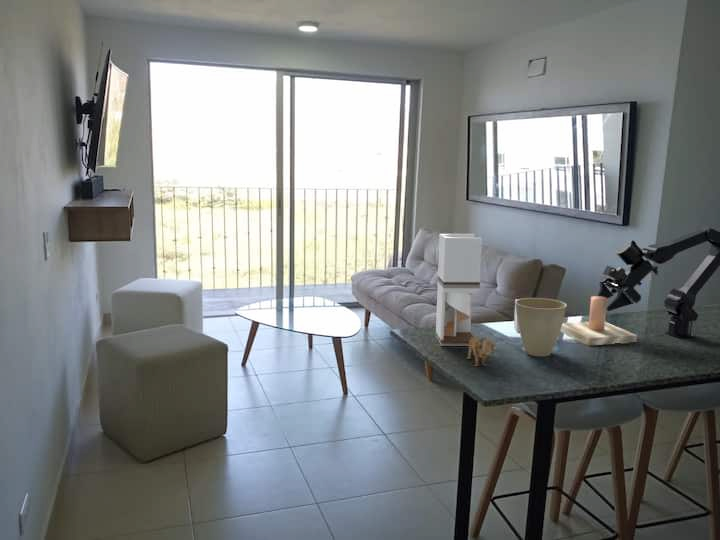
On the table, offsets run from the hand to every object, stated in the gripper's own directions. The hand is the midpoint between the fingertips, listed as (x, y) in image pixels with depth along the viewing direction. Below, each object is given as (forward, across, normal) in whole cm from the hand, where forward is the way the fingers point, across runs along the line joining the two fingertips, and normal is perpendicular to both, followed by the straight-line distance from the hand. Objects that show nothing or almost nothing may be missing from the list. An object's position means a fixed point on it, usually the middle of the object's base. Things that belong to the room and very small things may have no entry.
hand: (600, 306), depth 197 cm
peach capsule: (+6, 0, +5) cm, 8 cm away
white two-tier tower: (+43, +5, -29) cm, 52 cm away
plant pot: (+27, +17, -12) cm, 34 cm away
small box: (+23, -8, -8) cm, 26 cm away
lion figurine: (+42, +25, -27) cm, 55 cm away
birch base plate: (+8, 0, +7) cm, 10 cm away
